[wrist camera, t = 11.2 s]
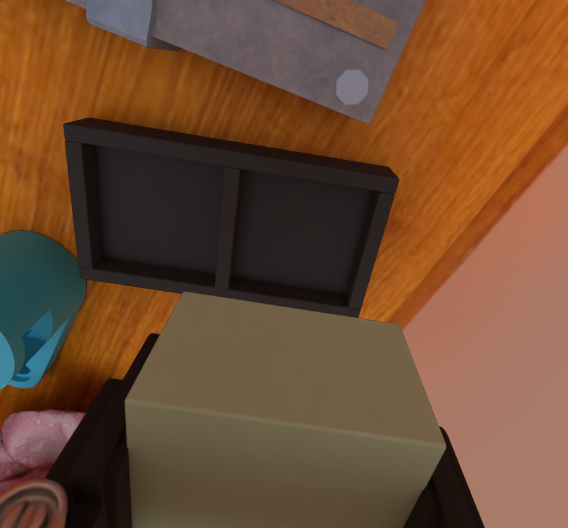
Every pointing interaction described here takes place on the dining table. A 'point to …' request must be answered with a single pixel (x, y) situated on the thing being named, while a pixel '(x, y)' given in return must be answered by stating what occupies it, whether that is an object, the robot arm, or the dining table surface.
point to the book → (279, 41)
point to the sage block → (277, 421)
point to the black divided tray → (224, 217)
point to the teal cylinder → (35, 305)
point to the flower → (33, 443)
